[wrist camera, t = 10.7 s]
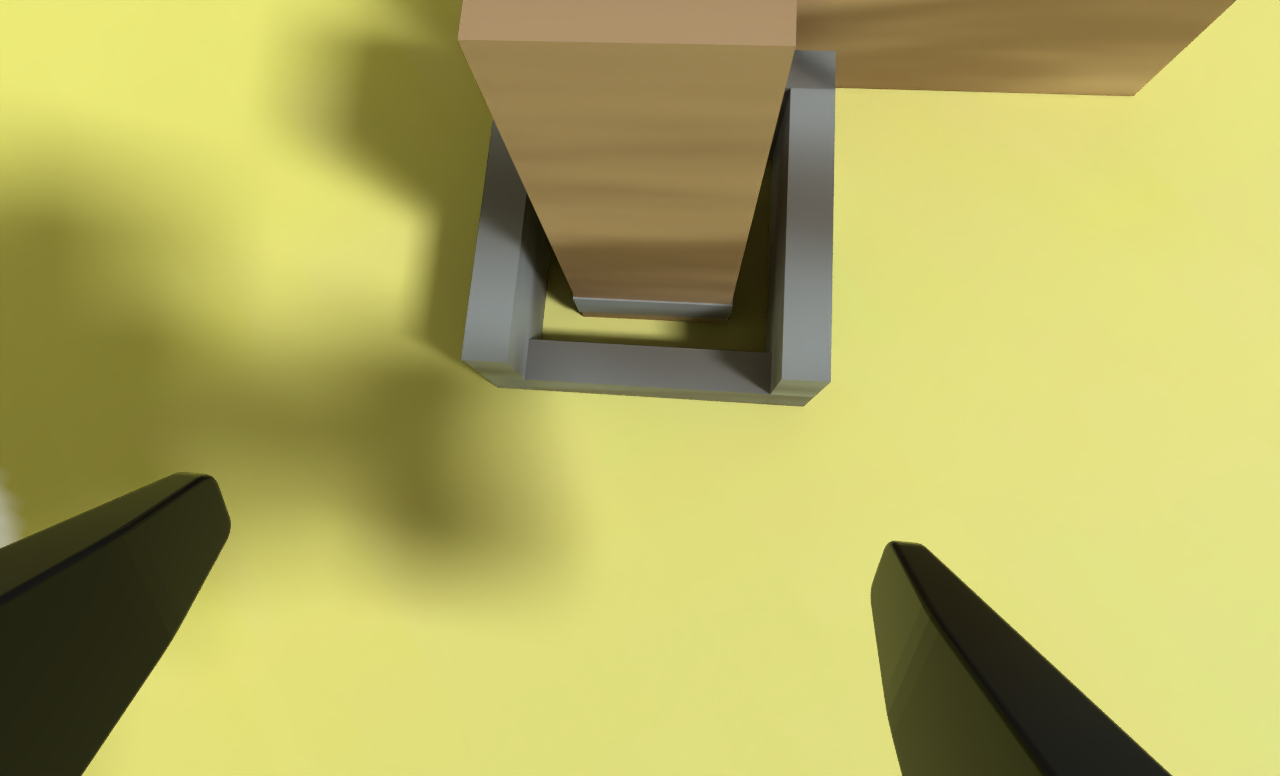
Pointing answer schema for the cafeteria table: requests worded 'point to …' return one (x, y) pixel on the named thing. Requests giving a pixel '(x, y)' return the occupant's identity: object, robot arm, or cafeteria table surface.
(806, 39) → the wooden fixture with frame
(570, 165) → the wooden block
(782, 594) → the cafeteria table surface
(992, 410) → the cafeteria table surface
